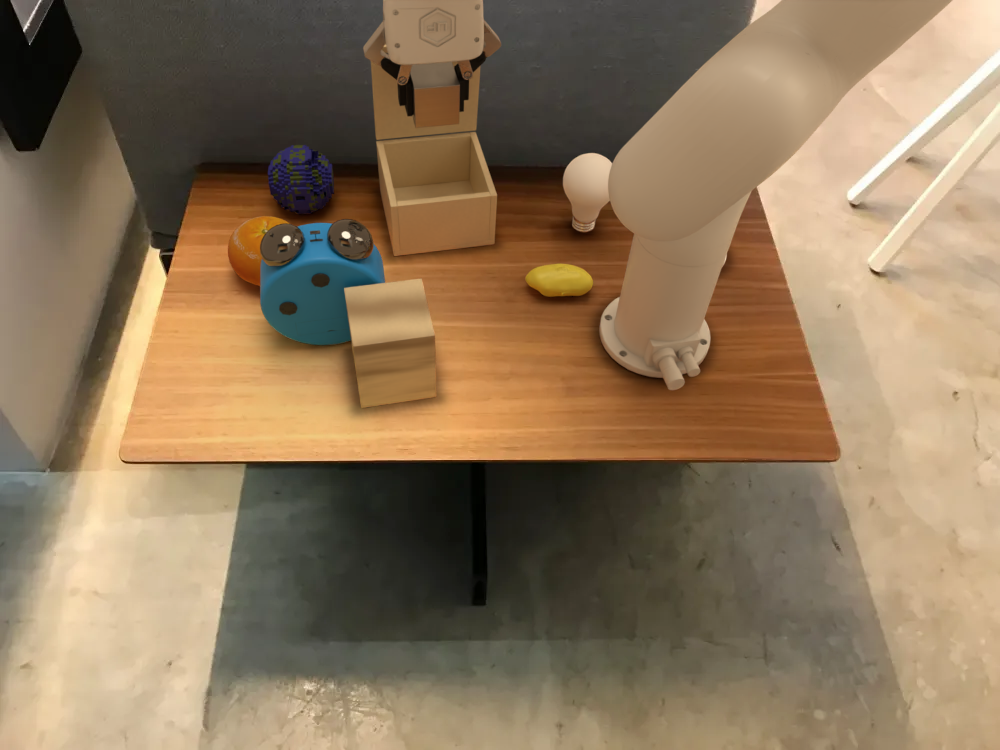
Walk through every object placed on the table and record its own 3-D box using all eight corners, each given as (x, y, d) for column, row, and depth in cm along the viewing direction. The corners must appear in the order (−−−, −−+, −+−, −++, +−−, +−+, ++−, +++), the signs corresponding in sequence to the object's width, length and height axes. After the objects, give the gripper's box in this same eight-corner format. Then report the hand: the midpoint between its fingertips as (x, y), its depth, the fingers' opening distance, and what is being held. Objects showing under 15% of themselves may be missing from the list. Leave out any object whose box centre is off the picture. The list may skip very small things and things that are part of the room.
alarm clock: (386, 303, 99) (377, 202, 88) (390, 343, 96) (382, 243, 84) (271, 313, 98) (247, 212, 86) (271, 354, 94) (246, 254, 82)
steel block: (459, 124, 96) (460, 85, 92) (415, 128, 95) (414, 88, 92) (451, 98, 99) (451, 59, 95) (408, 102, 98) (406, 63, 94)
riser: (436, 397, 91) (435, 335, 83) (361, 408, 90) (352, 346, 82) (423, 341, 96) (421, 278, 88) (352, 351, 95) (343, 287, 87)
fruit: (317, 274, 97) (278, 212, 93) (251, 309, 97) (210, 249, 94) (317, 253, 104) (281, 195, 101) (256, 286, 105) (218, 230, 101)
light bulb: (547, 233, 108) (555, 163, 100) (572, 205, 112) (582, 134, 103) (593, 254, 106) (606, 184, 98) (617, 225, 110) (631, 154, 101)
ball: (277, 183, 112) (267, 134, 106) (336, 181, 113) (329, 133, 107) (273, 224, 107) (263, 175, 101) (335, 222, 108) (328, 173, 102)
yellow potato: (590, 307, 101) (595, 283, 98) (523, 300, 101) (525, 276, 98) (591, 281, 103) (595, 258, 100) (525, 275, 103) (528, 251, 100)
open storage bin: (494, 244, 107) (497, 195, 100) (393, 256, 104) (390, 206, 98) (474, 180, 114) (475, 131, 108) (380, 190, 112) (376, 140, 106)
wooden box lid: (482, 39, 96) (473, 11, 99) (370, 47, 94) (364, 19, 96) (476, 130, 107) (468, 103, 110) (376, 140, 105) (370, 112, 108)
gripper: (347, -33, 79) (362, 133, 93) (526, -43, 82) (514, 120, 96) (338, -70, 83) (354, 94, 97) (508, -78, 86) (499, 82, 100)
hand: (433, 105), depth 97 cm, fingers closed on steel block, 5 cm apart
